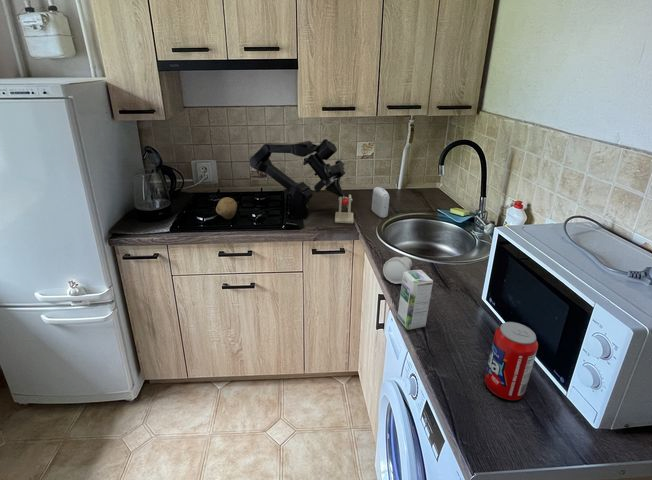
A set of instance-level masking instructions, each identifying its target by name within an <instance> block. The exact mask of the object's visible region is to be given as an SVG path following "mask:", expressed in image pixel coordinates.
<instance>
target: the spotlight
mask: <svg viewBox="0 0 652 480" xmlns="http://www.w3.org/2000/svg"><path fill="white" fill-rule="evenodd" d="M412 267H413V261H412V259H410V258H409V257H408V256H401V257H400V256H393V257H391V258H390V259H388V260H387V261H385V263H384V264H383V268H382V273H383V276H384V278H385V279H386V280H387V281H388V282H390V284H395V285H398V284H402V279H403V272H406V271H412V270H411V268H412Z"/></svg>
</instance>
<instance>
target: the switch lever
mask: <svg viewBox="0 0 652 480" xmlns="http://www.w3.org/2000/svg"><path fill="white" fill-rule="evenodd" d="M348 204H349V196H343V197H342V205H343V206H348Z"/></svg>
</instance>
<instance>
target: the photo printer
mask: <svg viewBox="0 0 652 480" xmlns="http://www.w3.org/2000/svg"><path fill="white" fill-rule="evenodd" d="M389 206H390V194H389V193H388V191H387V190H386V189H385V188H383V187H381V186H376V187H374V188H373V189H372V199H371V211H372V212H373V213H374V214H375V215H376V216H377V217H379V218H383V219H384V218H387V217H388V215H389Z"/></svg>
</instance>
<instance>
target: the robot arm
mask: <svg viewBox="0 0 652 480" xmlns="http://www.w3.org/2000/svg"><path fill="white" fill-rule="evenodd" d="M337 151H338V148H337V146H336V145H335V144H334V143H333V142H332V141H330V140H328V139H327V138H324V139H322V141H321V143H320V144H315V143H313V142H312V141H311V140H305V141H299V142H294V143H287V142H286V143H285V142H273V143H272V142H267V143H263V144H262V145H261V147H260V148H259V149H258V150H257V151H256V152H255V153H254V154H253V155H252V156H250V157H249V165H250V167H251V168H252V169H254V170H256V171H258V172H261V173H265V174H266V175H268V176H269V177H270V178H271V179H273V180H274V181H275V182H277V183H278V184H279V185H280V186H282V187H283V188H284V189H286V190H287V191H288V192H289V194H290V196H291V198H290V200H289V205H290V206H291V217H290V218H291V219H292V220H307V217H309V206H308V202H310V199H312V197H313V190H312V189H311V186H310V185H307V184H306V182H304V181H301V182H296V181H295V180H294V179H292V178H291V177H289V176H288V175H287V174H286V173H284V172H283V171H282V170H280V169H279V168H278V167H276V166H275V165H274V164H273V163H272V161H271V159H270V158H271V155H272V154H292V155H294V156H296V157H301V158H303V163H302V164H303V166H306V165H309V166H310V168H311V169H312V171H313V172H314V174H313V175H314V176H315V177H316V176H317V177H318V178H319V179H320V180H319V181H318V182H316V183H315V184H314V185H313V186H314V187H313V188H314V190H315V192H316V193H319V192H320V191H321V190H322V189H323V188H324V187H325V188H324V191H328V192H330V193H332V194H334V195H336V196H338V197H339V198H340V197H342V198H343V197H345V195H344V192H343V189H342V186H341V183H340V182H341V180H342V177H343V176H345V175H346V172H345V167H344V166H345V163H344V162H343V161H342V160H341V159H338V160H336V161H335V162H334V164H332V165H331V164H330V163H326V161H328V160H329V159H330V158H331V157H333V156H334V154H336V153H337ZM306 156H307V157H306Z"/></svg>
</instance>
